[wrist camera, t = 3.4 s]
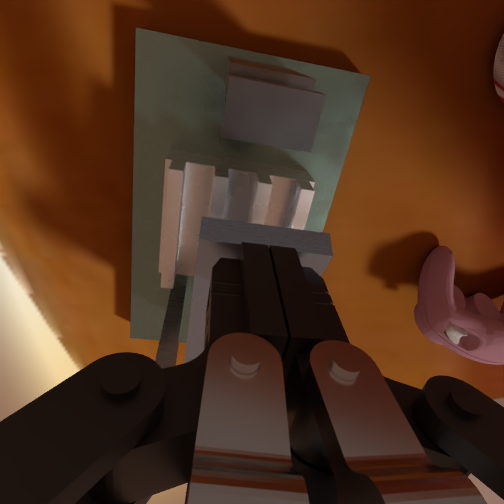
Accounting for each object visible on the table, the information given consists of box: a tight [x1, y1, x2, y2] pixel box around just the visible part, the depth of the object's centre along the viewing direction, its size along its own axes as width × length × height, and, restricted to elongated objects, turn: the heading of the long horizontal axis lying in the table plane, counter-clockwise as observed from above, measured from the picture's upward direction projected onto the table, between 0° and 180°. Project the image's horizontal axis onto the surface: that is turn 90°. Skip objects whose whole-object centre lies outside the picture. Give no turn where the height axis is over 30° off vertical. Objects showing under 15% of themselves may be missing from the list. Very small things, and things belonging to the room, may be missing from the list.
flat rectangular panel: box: [184, 216, 333, 363], centre depth 15 cm, size 4×14×1 cm, turn 170°
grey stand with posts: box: [130, 27, 370, 369], centre depth 20 cm, size 12×20×10 cm, turn 170°
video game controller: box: [414, 246, 504, 364], centre depth 26 cm, size 10×5×7 cm, turn 68°
